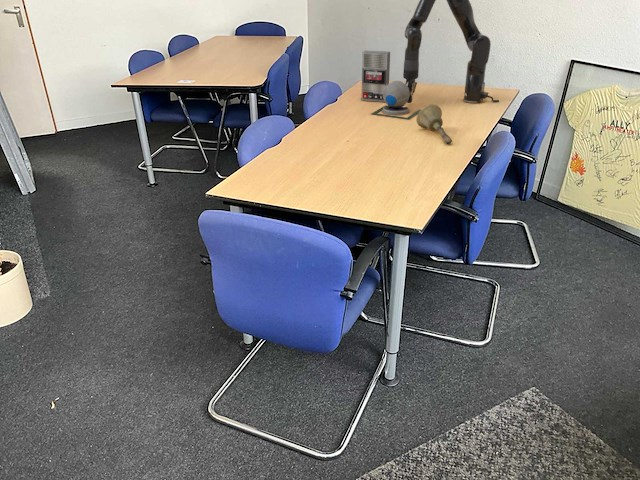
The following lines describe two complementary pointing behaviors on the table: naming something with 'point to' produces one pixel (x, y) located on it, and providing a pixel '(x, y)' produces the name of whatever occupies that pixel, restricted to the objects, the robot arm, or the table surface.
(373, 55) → the cassette tape recorder
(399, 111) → the webcam
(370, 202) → the table surface
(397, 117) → the tape bay
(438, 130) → the handbell
